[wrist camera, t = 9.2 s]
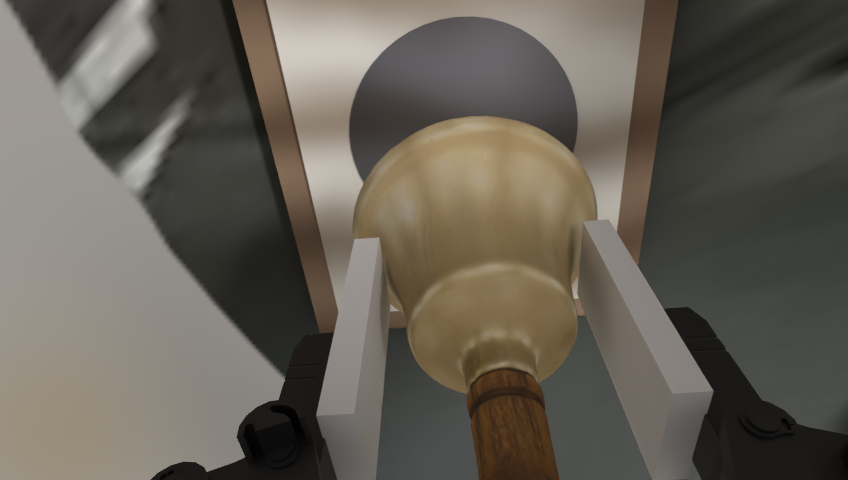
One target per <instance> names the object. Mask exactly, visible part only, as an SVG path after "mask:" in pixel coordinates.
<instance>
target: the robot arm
mask: <svg viewBox="0 0 848 480" xmlns="http://www.w3.org/2000/svg"><path fill="white" fill-rule="evenodd" d="M577 295H578V298H579V300H580V303H581V305H582V308H583V310H584V312H585V315H586V317H587V320H588V322H589V325H590V327H591V330H592V332H593V335H594V337H595V340H596V342H597V345H598V347H599V350H600V352H601V355H602V357H603V359H604V362H605V364H606V367H607V369H608V372H609V374H610V377H611V379H612V382H613V384H614V387H615V389H616V392H617V394H618V397H619V399H620V402H621V404H622V406H623V409H624V411H625V414H626V416H627V419H628V421H629V424H630V426H631V429H632V431H633V434H634V436H635V439H636V441H637V444H638V446H639V449H640V451H641V453H642V456H643V458H644V461H645V463H646V466H647V468H648V471H649V473H650V476H651V478H652V480H676V479H688V478H689V474H690V471H691V468H692V464H693V463H694V465H695V467H696V469H697V471H698V473H699V475H700V477H701V479H702V480H848V435H845V434H840V433H835V432H830V431H825V430H819V429H814V428H810V427H806V426H802V425H799V424H797V422H796V421H795V420H794V419H793V418H792V417H791V416H790V415H789V414H788V413H787V412H785V411H784V410H783V409H781V408H779V407H777V406H775V405H773V404H771V403H769V402H766V401H762V399H761V398H760V397H759V396H758V394H757V393H756V391H755V390H754V388H753V387H752V386H751V384H750V383H749V381H748V380H747V378H746V377H745V375H744V374H743V373H742V371H741V370H740V368H739V367H738V365H737V364H736V363H735V361H734V360H733V358H732V357H731V355H730V354H729V353H728V352H726V350H725V347H724V345H723V344H722V343H721V341H720V340H719V339H717V335H716V334H715V333H714V331H713V330H712V328H711V327H710V325H709V324H708V323H707V321H706V320H705V319H704V318H702V317H701V316H699V315H698V314H697V313H695V312H694V311H693V310H691V309H690V308H688V307H683V308H668V309H663V307H662V306H661V304H660V303H659V301H658V299H657V298H656V296H655V294H654V293H653V291H652V289H651V288H650V286H649V284H648V283H647V281H646V280H645V278H644V276H643V275H642V273H641V271H640V270H639V268H638V266H637V265H636V263H635V262H634V260H633V258H632V257H631V255H630V253H629V252H628V250H627V248H626V247H625V245H624V243H623V242H622V240H621V239H620V237H619V235H618V234H617V232H616V230H615V229H614V227H613V225H612V224H611V222H610V221H609V219H607V220H594V221H583V226H582V239H581V251H580V264H579V276H578V289H577ZM390 308H391V307H390V301H389V295H388V289H387V282H386V276H385V270H384V264H383V258H382V252H381V245H380V239H379V237H377V238H364V239H354V244H353V248H352V253H351V257H350V262H349V267H348V271H347V276H346V280H345V285H344V290H343V294H342V299H341V303H340V308H339V313H338V317H337V322H336V326H335V331H334V333H327V334H313V335H306V336H305V337H304V338H303V339H302V340H301V342H300V343H299V344H298V345H297V346H296V348H295V349H294V351H293V354H292V358H291V361H290V364H289V369H288V371H287V374H286V377H285V382H284V384H283V388H282V391H281V394H280V397H279V400H276V401H270V402H267V403H265V404H263V405H261V406H258V407H257V408H255V409H254V410H253V411H252V412H251V413H249V414H248V415H247V416H246V417H245V419H244V420H243V422H242V423H241V424H240V426H239V430H238V434H237V438H238V441H239V443H240V446H241V448H242V450H243V452H244V455H245V458H243V459H241V460H239V461H237V462H234V463H232V464H229V465H226V466H223V467H221V468H217V469H215V470H212V471H209V472H206V470H205V468H204V467H202V466H201V465H199V464H197V463H196V462H182V463H178V464H174V465H171V466H169V467H167V468H166V469H164V470H162V471H160V472H159V473H157V474H156V475H155V476H154V477H153V478H152V479H151V480H376V470H377V458H378V447H379V435H380V424H381V412H382V401H383V389H384V377H385V366H386V354H387V343H388V331H389V320H390Z"/></svg>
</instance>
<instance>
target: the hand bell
mask: <svg viewBox="0 0 848 480" xmlns="http://www.w3.org/2000/svg"><path fill="white" fill-rule="evenodd" d="M597 219H598V214H597V202H596V197H595V193H594V189H593V186H592V184H591V181H590V179H589V177H588V175H587V173H586V171H585V169H584V168H583V166H582V164H581V163H580V161H579V160H578V159H577V158H576V156H575V155H574V154H573V153H572V152H571V151H570V150H569V149H568V148H567V147H566V146H565V145H563V144H562V143H561V142H560V141H559V140H557V139H556V138H554V137H553V136H551V135H550V134H548V133H547V132H545V131H543V130H541V129H539V128H537V127H535V126H532V125H530V124H527V123H524V122H520V121H517V120H512V119H507V118H501V117H493V116H469V117H461V118H455V119H449V120H445V121H442V122H438V123H435V124H433V125H430V126H428V127H426V128H424V129H422V130H420V131H417V132H415V133H414V134H412V135H410V136H409V137H407V138H406V139H404V140H403V141H402V142H400V143H399V144H398V145H396V146H395V147H393V148H392V149H390V150H389V151H388V152H387V153H386V154H385V155H384V157H383V158H382V159H380V160H379V161H378V163H377V164H376V165H375V166H374V167H373V169H372V171H371V173H370V174H369V175H368V177H367V178H366V180H365V182H364V184H363V186H362V188H361V190H360V192H359V195H358V198H357V201H356V204H355V209H354V215H353V224H352V234H353V243H354V239H364V238H377V237H379V239H380V245H381V252H382V258H383V264H384V270H385V276H386V282H387V289H388V295H389V301H390V304H391V305H392V306H393V307H395V308H396V309H397V310H399V311H400V312H402V313H403V314H404V315H405V320H406V326H407V337H408V342H409V345H410V348H411V351H412V353H413V355H414V357H415V359H416V361H417V362H418V364H419V366H420V367H421V368H422V369H423V370H424V371H425V372H426V373H427V374H428V375H429V376H430V377H431V378H433V379H434V380H436V381H437V382H439V383H440V384H442V385H444V386H446V387H448V388H450V389H453V390H455V391H458V392H462V393H467V408H468V413H469V416H470V419H471V429H472V435H473V442H474V448H475V454H476V460H477V467H478V475H479V480H559V475H558V471H557V466H556V461H555V456H554V451H553V446H552V441H551V436H550V431H549V426H548V421H547V416H546V414H545V402H544V395H543V392H542V389H541V387H540V385H539V382H540V381H542V380H544V379H545V378H547V377H548V376H550V375H551V374H552V373H553V372H555V371H556V370H557V369H558V368H559V366H560V365H561V364H562V363H563V362H564V361H565V359H566V358H567V356H568V355H569V354H570V352H571V350H572V347H573V345H574V343H575V340H576V336H577V331H578V316H577V309H576V305H575V301H574V297H573V292H572V284H573V283H574V282H575V280H576V279H577V277H578V276H579V264H580V251H581V239H582V226H583V221H594V220H597Z"/></svg>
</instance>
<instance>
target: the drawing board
mask: <svg viewBox="0 0 848 480" xmlns="http://www.w3.org/2000/svg"><path fill="white" fill-rule="evenodd" d="M232 1H233V5H234V8H235V12H236V16H237V20H238V24H239V27H240V31H241V35H242V39H243V43H244V46H245V50H246V54H247V58H248V62H249V65H250V69H251V73H252V77H253V81H254V84H255V88H256V92H257V96H258V100H259V103H260V107H261V111H262V115H263V119H264V122H265V126H266V130H267V134H268V138H269V141H270V145H271V149H272V153H273V157H274V160H275V164H276V168H277V172H278V176H279V179H280V183H281V187H282V191H283V195H284V198H285V202H286V206H287V210H288V214H289V217H290V221H291V225H292V229H293V233H294V236H295V240H296V244H297V248H298V252H299V255H300V259H301V263H302V267H303V271H304V274H305V278H306V282H307V286H308V290H309V293H310V297H311V301H312V305H313V309H314V312H315V316H316V320H317V324H318V328H319V331H320V333H330V332H334V331H335V326H336V322H337V317H338V313H339V308H340V303H341V299H342V294H343V290H344V285H345V280H346V276H347V271H348V267H349V262H350V257H351V253H352V248H353V244H354V243H353V234H352V224H353V215H354V209H355V204H356V201H357V198H358V195H359V192H360V190H361V188H362V186H363V184H364V182H365V180H366V178H367V177H368V175H369V174H370V173H371V171H372V169H373V167H374V166H375V165H376V164H377V163H378V161H379V160H380V159H382V158H383V157H384V155H385V154H386V153H387V152H388V151H389V150H390V149H392V148H393V147H395V146H396V145H398V144H399V143H400V142H402V141H403V140H404V139H406V138H407V137H409V136H410V135H412V134H414V133H415V132H417V131H420V130H422V129H424V128H426V127H428V126H430V125H433V124H435V123H438V122H442V121H445V120H449V119H455V118H461V117H469V116H493V117H501V118H507V119H512V120H517V121H520V122H524V123H527V124H530V125H532V126H535V127H537V128H539V129H541V130H543V131H545V132H547V133H548V134H550V135H551V136H553V137H554V138H556V139H557V140H559V141H560V142H561V143H562V144H563V145H565V146H566V147H567V148H568V149H569V150H570V151H571V152H572V153H573V154H574V155H575V156H576V158H577V159H578V160H579V161H580V163H581V164H582V166H583V168H584V169H585V171H586V173H587V175H588V177H589V179H590V181H591V184H592V186H593V189H594V193H595V197H596V202H597V214H598V219H597V220H607V219H609V221H610V222H611V224H612V225H613V227H614V229H615V230H616V232H617V234H618V235H619V237H620V239H621V240H622V242H623V243H624V245H625V247H626V248H627V250H628V252H629V253H630V255H631V257H632V258H633V260H634V262H635V263H636V265H637V266H638V262H639V256H640V249H641V243H642V236H643V230H644V223H645V216H646V210H647V203H648V197H649V190H650V184H651V177H652V171H653V164H654V158H655V151H656V145H657V138H658V132H659V125H660V119H661V112H662V106H663V99H664V92H665V86H666V79H667V73H668V66H669V60H670V53H671V47H672V40H673V34H674V27H675V21H676V14H677V8H678V1H679V0H232ZM577 289H578V277H577V279H576V280H575V282H574V283H573V284H572V292H573V297H574V301H575V305H576V309H577V316H582V315H585V312H584V310H583V308H582V305H581V303H580V300H579V298H578V295H577ZM390 307H391V308H390V320H389V329H390V328H404V327H407V326H406V320H405V315H404V314H403V313H402V312H400V311H399V310H397V309H396V308H395V307H393V306H392V305H391V304H390Z"/></svg>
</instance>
